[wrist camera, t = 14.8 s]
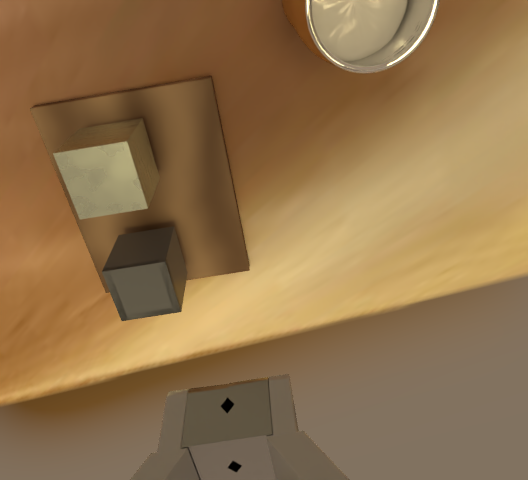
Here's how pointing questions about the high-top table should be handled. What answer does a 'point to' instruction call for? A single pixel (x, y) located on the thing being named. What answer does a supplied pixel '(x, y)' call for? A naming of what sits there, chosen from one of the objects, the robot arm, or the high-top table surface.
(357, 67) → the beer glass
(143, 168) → the pale green block
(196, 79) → the walnut board
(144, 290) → the dark grey paneled cube
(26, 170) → the high-top table surface
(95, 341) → the high-top table surface
